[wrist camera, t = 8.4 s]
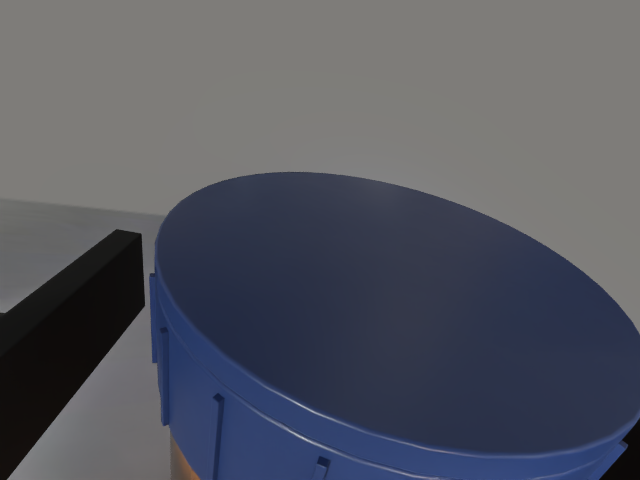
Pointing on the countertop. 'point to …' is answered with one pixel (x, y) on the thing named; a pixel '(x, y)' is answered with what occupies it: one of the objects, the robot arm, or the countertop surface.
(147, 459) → the countertop surface
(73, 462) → the countertop surface
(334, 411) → the lid
